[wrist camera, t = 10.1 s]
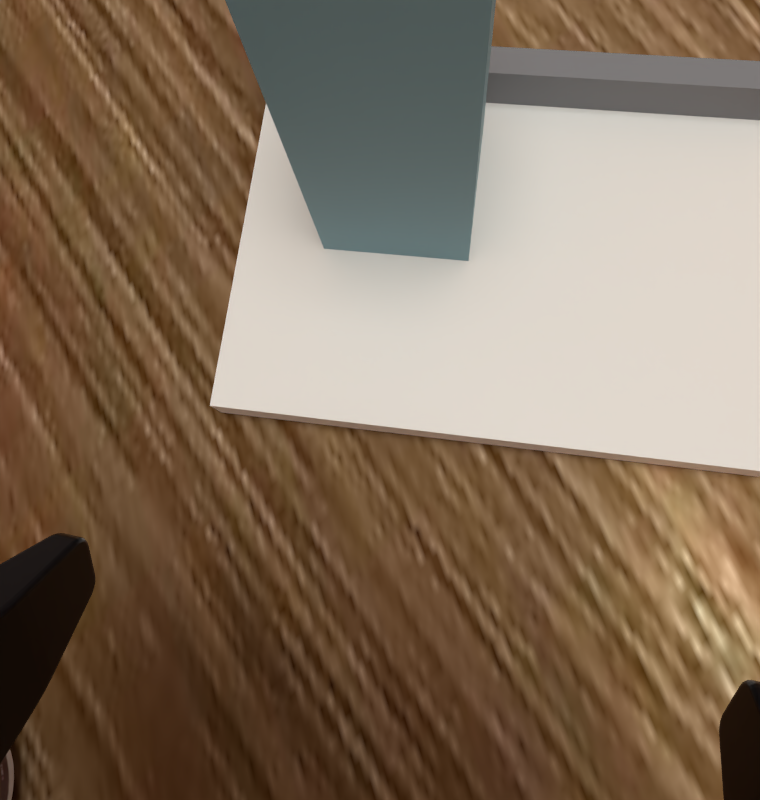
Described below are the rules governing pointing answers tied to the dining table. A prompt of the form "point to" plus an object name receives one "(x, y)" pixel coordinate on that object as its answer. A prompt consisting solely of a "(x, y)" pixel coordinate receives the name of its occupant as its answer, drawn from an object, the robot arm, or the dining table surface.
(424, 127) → the carton
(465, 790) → the dining table surface
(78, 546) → the robot arm
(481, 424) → the white base plate
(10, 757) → the supplement bottle
